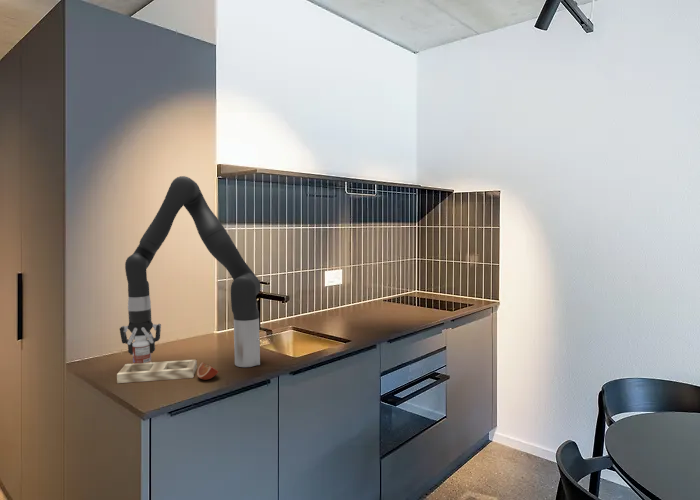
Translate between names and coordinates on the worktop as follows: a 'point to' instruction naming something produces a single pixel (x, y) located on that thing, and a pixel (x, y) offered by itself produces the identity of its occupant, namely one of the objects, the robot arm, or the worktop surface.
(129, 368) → the rail
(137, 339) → the pill bottle
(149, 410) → the worktop surface
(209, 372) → the fruit slice
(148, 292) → the robot arm
